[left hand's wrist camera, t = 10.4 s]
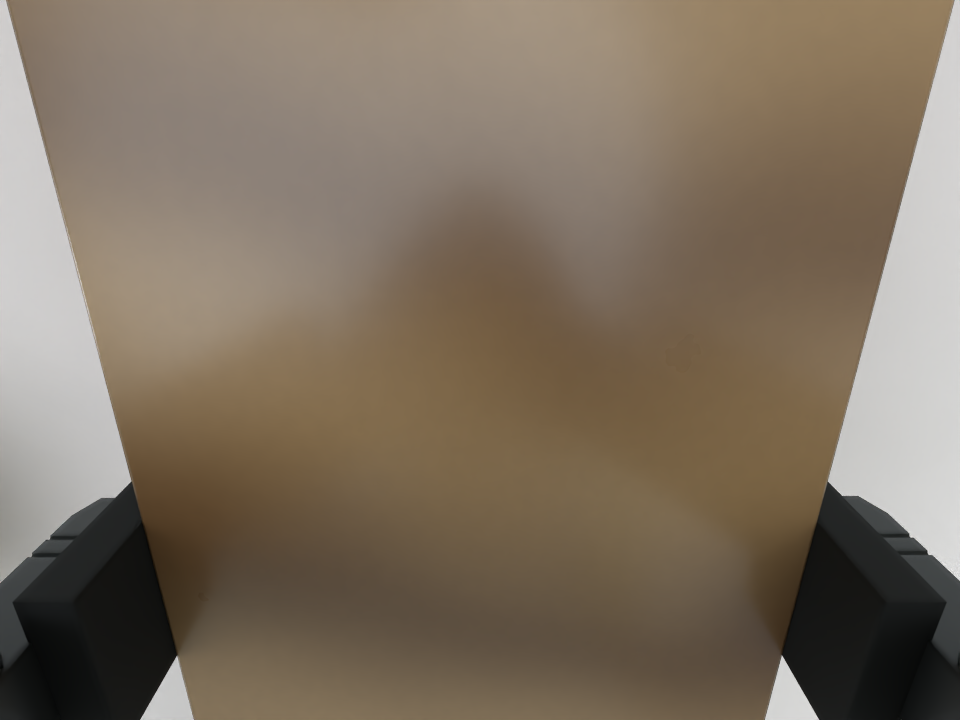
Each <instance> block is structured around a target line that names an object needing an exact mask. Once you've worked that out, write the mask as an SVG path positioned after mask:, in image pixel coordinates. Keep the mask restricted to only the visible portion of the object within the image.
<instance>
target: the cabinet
mask: <svg viewBox="0 0 960 720" xmlns="http://www.w3.org/2000/svg"><path fill="white" fill-rule="evenodd" d="M6 2H7V6H8V9H9V13H10V17H11V21H12V25H13V29H14V32H15V36H16V40H17V44H18V48H19V52H20V55H21V59H22V63H23V67H24V71H25V75H26V78H27V82H28V86H29V90H30V94H31V97H32V101H33V105H34V109H35V113H36V117H37V120H38V124H39V128H40V132H41V136H42V140H43V143H44V147H45V151H46V155H47V159H48V163H49V166H50V170H51V174H52V178H53V182H54V186H55V189H56V193H57V197H58V201H59V205H60V209H61V212H62V216H63V220H64V224H65V228H66V232H67V235H68V239H69V243H70V247H71V251H72V254H73V258H74V262H75V266H76V270H77V274H78V277H79V281H80V285H81V289H82V293H83V297H84V300H85V304H86V308H87V312H88V316H89V320H90V323H91V327H92V331H93V335H94V339H95V343H96V346H97V350H98V354H99V358H100V362H101V366H102V369H103V373H104V377H105V381H106V385H107V389H108V392H109V396H110V400H111V404H112V408H113V411H114V415H115V419H116V423H117V427H118V431H119V434H120V438H121V442H122V446H123V450H124V454H125V457H126V461H127V465H128V469H129V473H130V477H131V480H132V484H133V488H134V492H135V496H136V500H137V503H138V507H139V511H140V515H141V519H142V523H143V526H144V530H145V534H146V538H147V542H148V546H149V549H150V553H151V557H152V561H153V565H154V569H155V572H156V576H157V580H158V584H159V588H160V591H161V595H162V599H163V603H164V607H165V611H166V614H167V618H168V622H169V626H170V630H171V634H172V637H173V641H174V645H175V649H176V653H177V657H178V660H179V664H180V668H181V672H182V676H183V680H184V683H185V687H186V691H187V695H188V699H189V703H190V706H191V710H192V714H193V718H194V720H765V717H766V713H767V709H768V705H769V702H770V698H771V694H772V690H773V686H774V683H775V679H776V675H777V671H778V668H779V664H780V660H781V656H782V652H783V649H784V645H785V641H786V637H787V633H788V630H789V626H790V622H791V618H792V614H793V611H794V607H795V603H796V599H797V595H798V592H799V588H800V584H801V580H802V577H803V573H804V569H805V565H806V561H807V558H808V554H809V550H810V546H811V542H812V539H813V535H814V531H815V527H816V523H817V520H818V516H819V512H820V508H821V504H822V501H823V497H824V493H825V489H826V486H827V482H828V478H829V474H830V470H831V467H832V463H833V459H834V455H835V451H836V448H837V444H838V440H839V436H840V432H841V429H842V425H843V421H844V417H845V413H846V410H847V406H848V402H849V398H850V395H851V391H852V387H853V383H854V379H855V376H856V372H857V368H858V364H859V360H860V357H861V353H862V349H863V345H864V341H865V338H866V334H867V330H868V326H869V323H870V319H871V315H872V311H873V307H874V304H875V300H876V296H877V292H878V288H879V285H880V281H881V277H882V273H883V269H884V266H885V262H886V258H887V254H888V250H889V247H890V243H891V239H892V235H893V232H894V228H895V224H896V220H897V216H898V213H899V209H900V205H901V201H902V197H903V194H904V190H905V186H906V182H907V178H908V175H909V171H910V167H911V163H912V159H913V156H914V152H915V148H916V144H917V141H918V137H919V133H920V129H921V125H922V122H923V118H924V114H925V110H926V106H927V103H928V99H929V95H930V91H931V87H932V84H933V80H934V76H935V72H936V68H937V65H938V61H939V57H940V53H941V50H942V46H943V42H944V38H945V34H946V31H947V27H948V23H949V19H950V15H951V12H952V8H953V4H954V0H6Z"/></svg>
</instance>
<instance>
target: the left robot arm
mask: <svg viewBox="0 0 960 720" xmlns="http://www.w3.org/2000/svg"><path fill="white" fill-rule="evenodd" d="M32 554H33V555H32V557H28V558H27V559H26V560H24V561H23V562H22V563H21V564H20V565H19V566H18V567H17V568H16V569H15V570H14V571H13V572H12V573H11V574H10V575H9V576H8V577H7V578H5V579H4V580H3V581H2V582H1V583H0V720H140V719H141V717H142V715H143V714H144V712H145V710H146V708H147V707H148V705H149V703H150V702H151V700H152V698H153V696H154V695H155V693H156V691H157V689H158V688H159V686H160V684H161V682H162V681H163V679H164V677H165V675H166V674H167V672H168V670H169V668H170V667H171V665H172V663H173V662H174V660H175V658H176V656H177V653H176V649H175V645H174V641H173V637H172V634H171V630H170V626H169V622H168V618H167V614H166V611H165V607H164V603H163V599H162V595H161V591H160V588H159V584H158V580H157V576H156V572H155V569H154V565H153V561H152V557H151V553H150V549H149V546H148V542H147V538H146V534H145V530H144V526H143V523H142V519H141V515H140V511H139V507H138V503H137V500H136V496H135V492H134V488H133V484H132V482H131V483H130V484H129V485H128V486H127V487H126V488H125V489H124V490H123V491H122V492H121V493H120V494H119V495H118V496H117V497H116V498H101V499H99V500H97V501H96V502H94V503H92V504H91V505H89V506H87V507H86V508H84V509H82V510H80V511H79V512H77V513H75V514H74V515H72V516H71V517H70V518H69V519H68V520H67V521H66V522H65V523H64V524H62V525H61V526H60V527H59V528H58V529H57V530H56V531H55V532H54V533H53V534H52V535H51V538H50V540H46V541H45V542H43V543H42V544H41V545H40V546H39V547H38V548H37V549H36V550H35V551H34V552H33V553H32ZM782 656H783V657H784V659H785V661H786V663H787V664H788V666H789V668H790V670H791V671H792V673H793V675H794V677H795V678H796V680H797V682H798V684H799V685H800V687H801V689H802V691H803V692H804V694H805V696H806V697H807V699H808V701H809V703H810V704H811V706H812V708H813V710H814V711H815V713H816V715H817V717H818V718H819V720H960V581H959V580H958V579H957V578H956V577H955V576H954V575H953V574H952V573H951V572H949V571H948V570H947V569H946V568H945V567H944V566H943V565H942V564H941V563H940V562H939V561H938V560H937V559H936V558H935V557H934V556H932V555H928V553H927V550H926V549H925V548H924V547H923V546H922V545H921V544H920V543H919V542H918V541H917V540H915V539H914V538H910V536H909V533H908V532H907V531H906V530H905V529H904V528H903V527H902V526H901V525H900V524H898V523H897V522H896V521H895V520H894V519H893V518H892V517H891V516H890V515H889V514H888V513H886V512H884V511H883V510H881V509H879V508H878V507H876V506H874V505H872V504H871V503H869V502H867V501H866V500H864V499H862V498H861V497H859V496H842V495H841V494H840V493H839V492H838V491H837V490H836V489H835V488H834V487H833V486H832V485H831V484H830V483H829V482H827V486H826V489H825V493H824V497H823V501H822V504H821V508H820V512H819V516H818V520H817V523H816V527H815V531H814V535H813V539H812V542H811V546H810V550H809V554H808V558H807V561H806V565H805V569H804V573H803V577H802V580H801V584H800V588H799V592H798V595H797V599H796V603H795V607H794V611H793V614H792V618H791V622H790V626H789V630H788V633H787V637H786V641H785V645H784V649H783V652H782Z"/></svg>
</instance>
